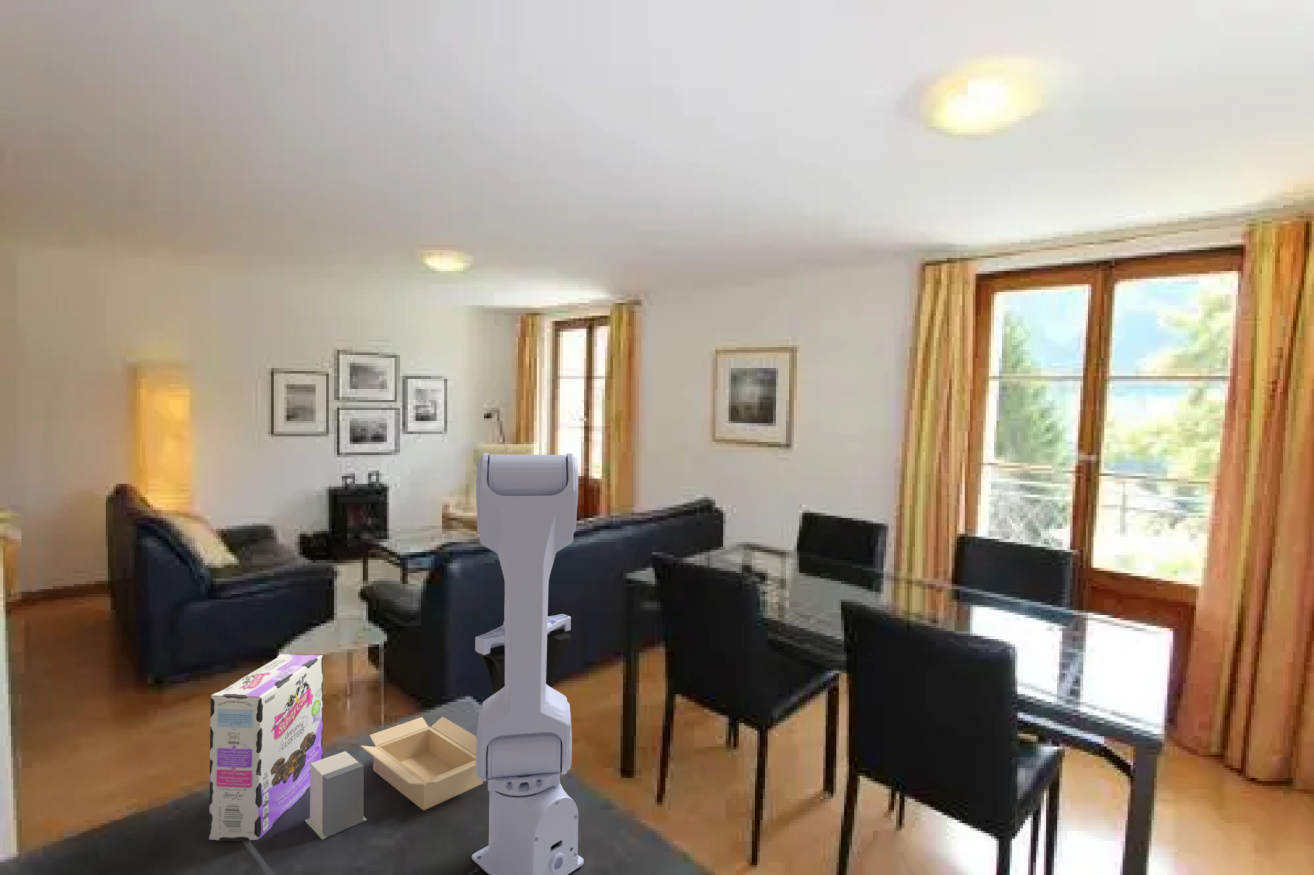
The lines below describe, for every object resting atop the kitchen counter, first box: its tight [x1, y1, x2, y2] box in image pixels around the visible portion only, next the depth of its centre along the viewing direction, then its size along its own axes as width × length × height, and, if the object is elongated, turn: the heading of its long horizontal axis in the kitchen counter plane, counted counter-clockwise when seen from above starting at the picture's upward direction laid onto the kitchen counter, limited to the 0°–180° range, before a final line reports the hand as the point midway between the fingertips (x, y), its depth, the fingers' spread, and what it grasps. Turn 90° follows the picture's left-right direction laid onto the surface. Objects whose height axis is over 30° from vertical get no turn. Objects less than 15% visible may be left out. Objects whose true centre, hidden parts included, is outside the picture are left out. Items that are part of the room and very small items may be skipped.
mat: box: [304, 815, 368, 840], centre depth 77 cm, size 5×5×1 cm
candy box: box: [208, 653, 324, 843], centre depth 80 cm, size 14×6×16 cm, turn 179°
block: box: [309, 750, 365, 838], centre depth 77 cm, size 5×4×7 cm
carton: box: [359, 716, 484, 811], centre depth 86 cm, size 12×17×4 cm
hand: (524, 693), depth 90 cm, fingers open, 7 cm apart
